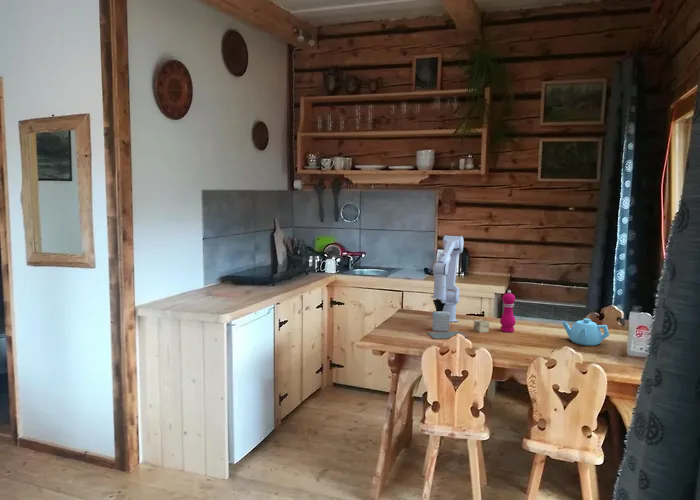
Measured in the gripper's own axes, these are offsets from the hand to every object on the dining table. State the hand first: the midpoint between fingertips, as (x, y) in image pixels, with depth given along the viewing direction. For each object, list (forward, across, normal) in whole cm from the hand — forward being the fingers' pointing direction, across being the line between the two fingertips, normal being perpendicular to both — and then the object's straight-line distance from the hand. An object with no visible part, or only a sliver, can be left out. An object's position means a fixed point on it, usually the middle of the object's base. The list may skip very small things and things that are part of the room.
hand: (439, 314), depth 268 cm
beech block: (+7, +7, +19) cm, 21 cm away
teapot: (+7, +30, +59) cm, 67 cm away
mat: (+7, +13, 0) cm, 15 cm away
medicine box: (+7, +3, 0) cm, 8 cm away
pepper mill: (+7, +8, +32) cm, 34 cm away
